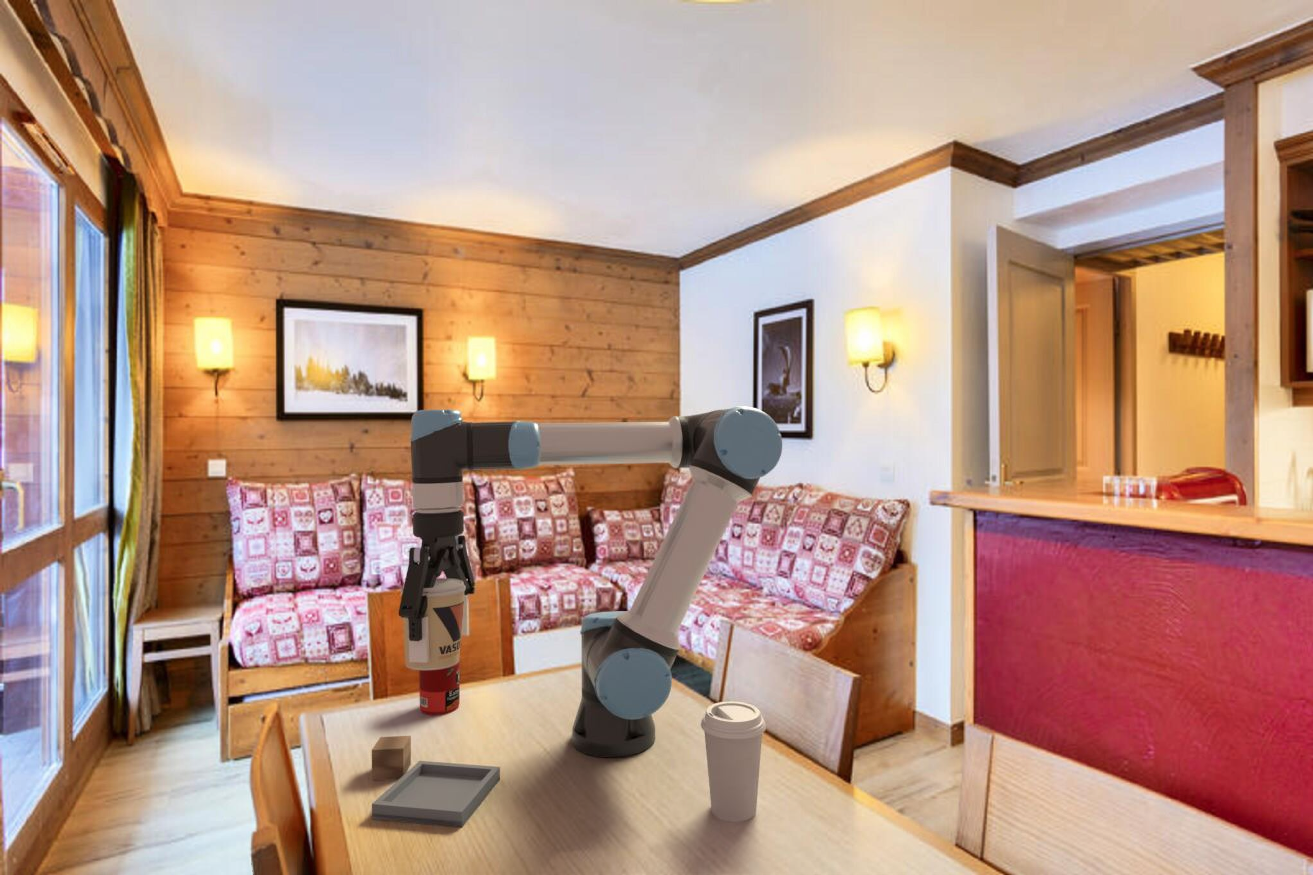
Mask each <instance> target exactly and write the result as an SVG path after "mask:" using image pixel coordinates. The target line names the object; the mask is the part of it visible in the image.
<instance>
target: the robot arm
mask: <svg viewBox="0 0 1313 875" xmlns="http://www.w3.org/2000/svg"><path fill="white" fill-rule="evenodd" d="M410 429H411V432H410V433H411V434H410V439H409V440H410V459H411V483H412V489H411V490H410V494H412V508H413V509H414V510H416V511H415V512H414V513H413V514H412V534H413V536H414V537H416V538H419V539H421V545H420V547H410V548H409V550H408V552H409V553H408V565H407V566H408V567H407V570H406V575H405V579H404V583H403V584H404V589H403V593H402V594H401V599H400V603H399V609H398V616H399V617H400V618H402V619H403V618H408V623H409V662H421V663H427V662H429V626H428V616H425V613H426V609H427V606H428V603H427V595H425V596H422V593H423V588H433V587H434V585H435V581H436V578H439V577H440V576H441V575H442V572H443V573H444V576H445V578H449V579H458V580H462V581H463V582H464V585H465V587H466V589H465V591H464V607H463V620H462V632H461V637H469V636H470V618H469V617H470V616H469V614H470V613H469V612H470V609H469V606H470V605H469V595H474V594H475V591H476V590H475V589H476V588H475V584H476V582H475V578H474V574H473V570H472V565H471V563H470V558H469V554H468V550H467V545H466V544H467V543H466V540H467V539H466V536H465V535H462V534H463V533H464V530H465V526H464V525H465V524H464V523H465V522H464V521H465V520H464V516H465V515H464V511H463V510H462V509H461V508H462V507H463V506H465V504H464V502H465V501H464V481H463V480H464V477H463V472H464V471H477V470H478V471H479V470H480V471H482V470H483V471H486V470H488V471H489V470H491V471H492V470H516V471H520V470H525V469H535V468H537V467H538V466H565V465H567V466H568V465H571V466H572V465H574V466H575V465H577V466H578V465H611V464H612V465H616V464H617V465H619V464H621V465H622V464H624V465H625V464H627V465H628V464H663V463H668V464H669V465H670V466H671V467H672V468H674V469H681V468H682V469H684V468H685V469H689V470H688V471H689V472H690V475H691V480H692V481H691V483H690V485H689V487H688V489H687V491H686V493H685V495H684V497H683V500H682V501H681V503H680V506H679V507H678V509H677V512H676V514H675V515H674V518H673V520H672V521H671V524H670V526H669V528H668V530H667V532H666V534H665V536H664V538H663V541H662V543H661V545H660V546H659V549H658V551H657V552H656V553H657V554H656V555H655V557H654V560H653V561H652V564H651V566H650V567H649V570H648V572H647V574H646V576H645V578H644V580H643V582H642V585H641V586H640V588H639V590H638V593H637V595H636V596H635V599H634V601H633V602H632V605H631V607H630V609H628V610H626V611H624V610H623V611H622V610H617V611H616V610H615V611H613V610H612V611H601V612H600V611H599V612H595V613H594V612H593V613H589V614H587V615H585V616H584V617H583V618H582V619H581V620H582V621H581V630H580V631H579V632H580V635H581V699H580V701H579V702H580V703H579V705H578V709H577V712H576V716H575V719H574V722H573V724H572V725H573V726H572V730H571V741H572V745H573V746H574V748H575V749H576V750H578V751H579V752H582V753H583V754H587V755H589V756H594V757H602V758H620V757H629V756H632V755H637V754H640V753H642V752H644V751H646V750H649V748H651V747H652V746H653V745H654V743H655V742H656V725H655V724H656V723H655V722H654V721H655V720H654V718H653V714H655V713H657V711H659V710H660V709H661V708H662V706H663V705H664V704H665V703H666V701H667V700H668V698H669V697H670V694H671V691H672V685H673V684H672V683H673V681H672V680H673V678H672V677H673V676H672V671H671V669H672V666H673V665H674V662H675V659H676V658H677V655H678V653H679V651H680V649H681V643H680V641H679V639H678V638H679V637H678V632H679V629H680V627H681V625H682V623H683V621H684V619H685V616H686V614H687V613H688V611H689V608H690V606H691V604H692V602H693V599H694V597H695V596H696V593H697V591H698V589H699V586H700V585H701V582H702V580H703V579H704V576H705V574H706V572H707V570H708V567H709V566H710V563H711V561H712V559H713V557H714V555H715V553H716V550H717V549H718V547H719V544H720V542H721V540H722V538H723V536H724V534H725V532H726V529H727V528H728V525H729V523H730V521H731V519H732V517H733V515H734V514H735V513H734V512H735V510H736V509H737V506H738V504H739V503H740V502H742V501H745V500H747V499H750V498H751V497H752V496H753V494H754V491H755V490H756V487H757V485H758V483H759V481H760V479H761V478H763V477H764V476H766V475H768V474H769V473H771V471H773V470H774V469H775V468H776V466H777V465H778V463H779V461H780V459H781V456H782V452H783V437H782V434H781V432H780V429H779V426H778V424H777V423H776V422H775V420H774V419H773V418H772V417H771V416H770V414H767V413H766V412H764V411H762V410H760V409H758V408H756V407H750V406H744V405H739V406H733V407H731V408H727V409H726V408H725V409H715V410H711V411H708V412H704V413H698V414H693V415H692V414H691V415H684V416H683V415H682V416H681V415H679V416H678V415H675V416H672V417H671V418H669V420H668V421H629V422H628V421H626V422H625V421H624V422H623V421H622V422H620V421H619V422H618V421H617V422H614V421H613V422H554V423H553V422H540V423H538V422H535V421H522V420H515V421H490V422H489V421H488V422H484V421H483V422H481V421H480V422H471V421H469V422H468V421H463V417H462V413H461V411H460V410H458V409H420V410H417V411H415V412H414V413H413V415H412V417H411V428H410ZM425 593H428V592H425Z"/></svg>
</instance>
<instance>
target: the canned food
mask: <svg viewBox="0 0 1313 875" xmlns="http://www.w3.org/2000/svg"><path fill="white" fill-rule="evenodd" d="M460 663H461V662H460V660H459V662H458V663H457V664H456V665H454V666H451V667H448V668H444V669H438V670H418V672H419V673H418V675H419V677H418V678H419V679H418V682H419V685H418V686H419V689H418V690H419V709H420V712H421V714H424V715H428V716H441V715H446V714H450V713H453V712H455V711H456V710H458V709H459V708H460V703H461V702H460V700H461V699H460V690H461V689H460V684H461V683H460V682H461V681H460V670H461V669H460Z"/></svg>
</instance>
